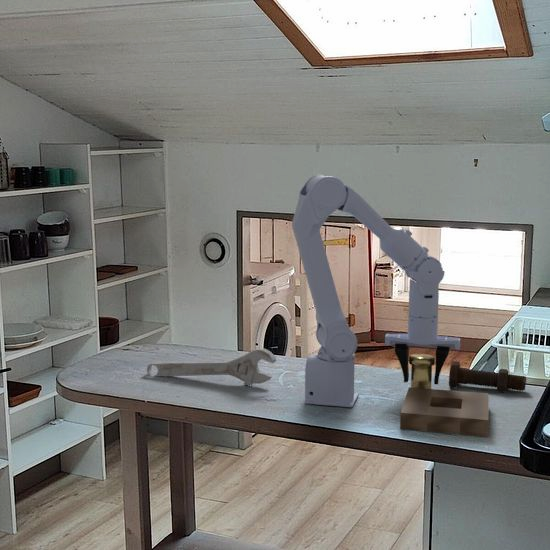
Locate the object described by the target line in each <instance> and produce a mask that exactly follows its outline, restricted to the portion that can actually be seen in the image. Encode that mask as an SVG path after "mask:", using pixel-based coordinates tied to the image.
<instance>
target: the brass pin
mask: <svg viewBox="0 0 550 550" xmlns="http://www.w3.org/2000/svg"><path fill="white" fill-rule="evenodd" d="M408 364H410V365H411V370H410V371H411V373H410V375H411V376H410V387H411V388H424V389H432V380H433V378H432V375H433V374H432V373H433V372H432V371H433V366H435V365H436V356H433V355H432V354H425V353H415V354H411V355H409V359H408Z"/></svg>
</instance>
